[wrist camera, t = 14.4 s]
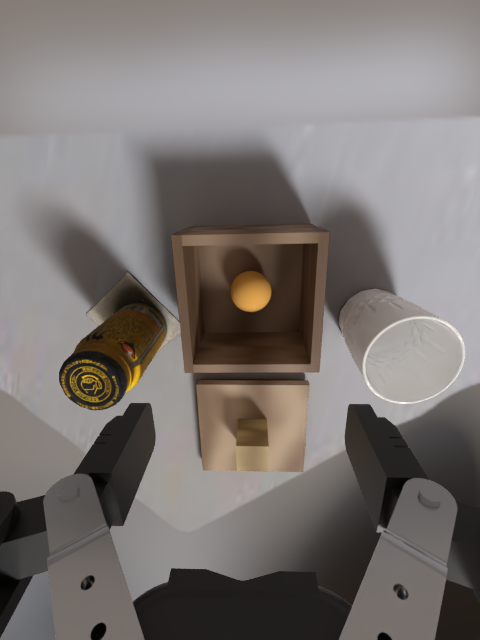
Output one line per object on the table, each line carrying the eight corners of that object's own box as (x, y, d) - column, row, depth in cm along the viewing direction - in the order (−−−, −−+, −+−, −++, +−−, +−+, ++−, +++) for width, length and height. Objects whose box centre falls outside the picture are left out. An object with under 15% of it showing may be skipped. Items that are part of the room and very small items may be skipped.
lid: (204, 459, 43) (197, 501, 37) (198, 376, 38) (188, 408, 32) (301, 461, 42) (309, 503, 36) (306, 376, 38) (316, 410, 32)
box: (198, 336, 36) (184, 372, 28) (190, 227, 32) (171, 235, 24) (305, 335, 35) (319, 372, 28) (311, 224, 31) (329, 232, 24)
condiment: (142, 364, 38) (95, 434, 26) (86, 313, 35) (10, 366, 24) (185, 327, 36) (154, 385, 24) (129, 271, 34) (66, 307, 22)
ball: (232, 304, 34) (229, 318, 30) (231, 267, 32) (228, 276, 28) (270, 304, 33) (272, 317, 30) (270, 266, 32) (272, 275, 28)
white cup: (323, 300, 34) (349, 338, 24) (396, 270, 32) (454, 299, 23) (345, 360, 36) (377, 415, 27) (414, 335, 35) (473, 385, 26)
